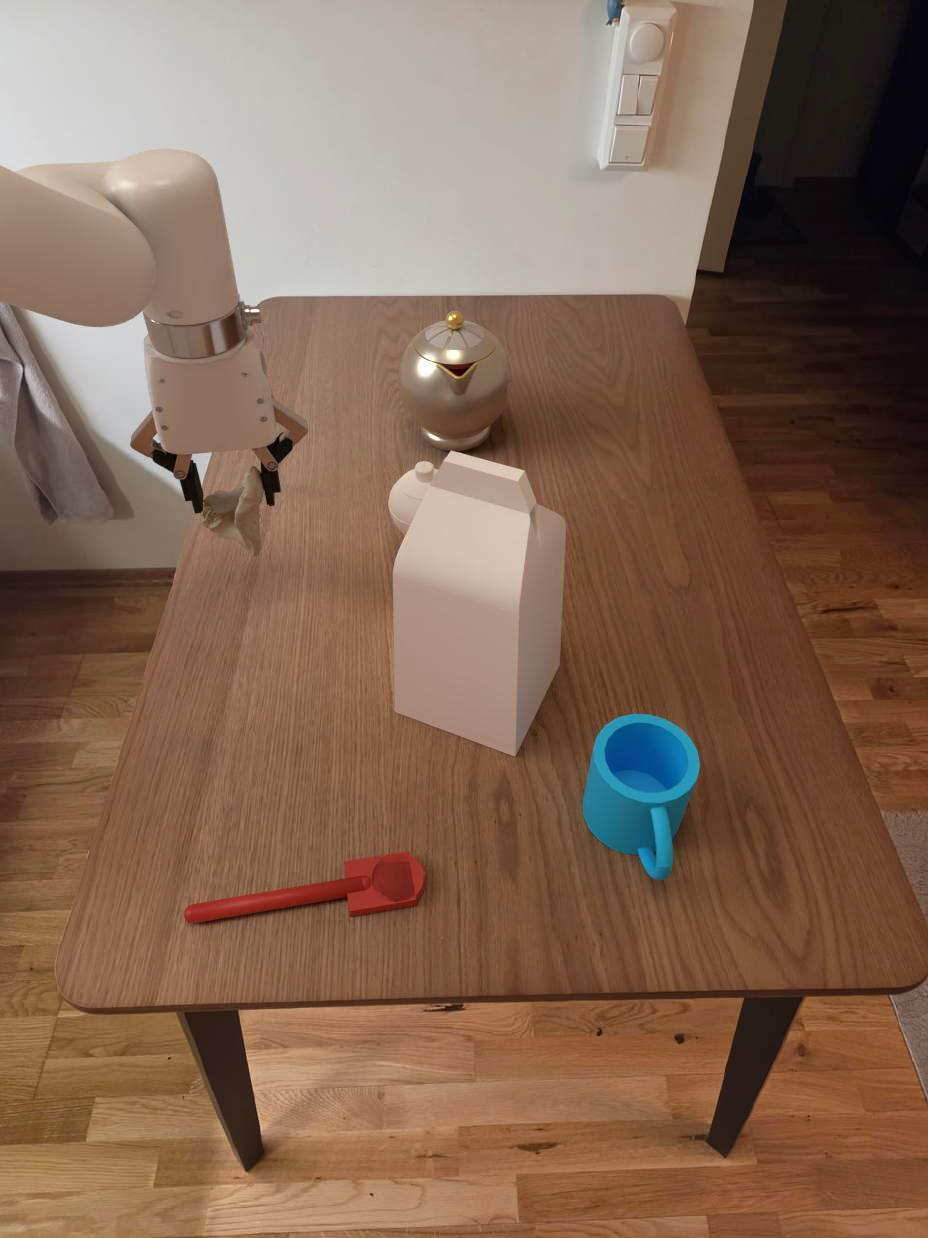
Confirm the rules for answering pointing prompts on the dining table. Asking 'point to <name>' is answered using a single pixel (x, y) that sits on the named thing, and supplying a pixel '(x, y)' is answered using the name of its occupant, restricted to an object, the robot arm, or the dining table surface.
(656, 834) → the mug
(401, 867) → the red toy shovel
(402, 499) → the spinning top
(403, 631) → the milk
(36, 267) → the robot arm
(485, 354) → the teapot
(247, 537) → the bone
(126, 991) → the dining table surface
